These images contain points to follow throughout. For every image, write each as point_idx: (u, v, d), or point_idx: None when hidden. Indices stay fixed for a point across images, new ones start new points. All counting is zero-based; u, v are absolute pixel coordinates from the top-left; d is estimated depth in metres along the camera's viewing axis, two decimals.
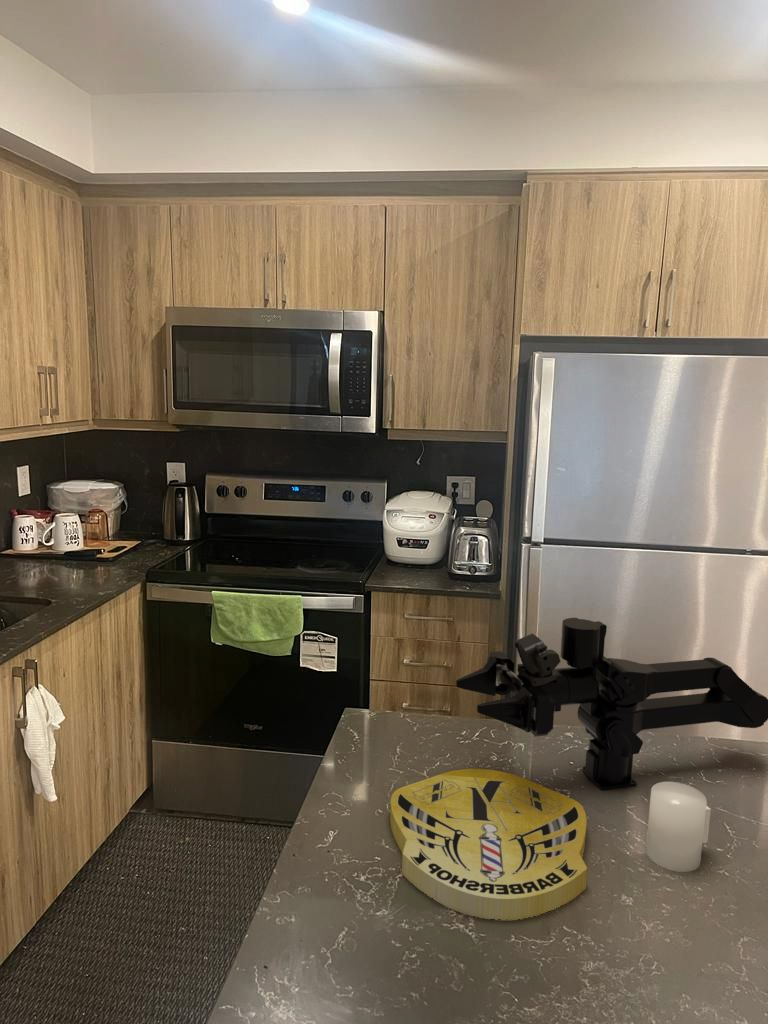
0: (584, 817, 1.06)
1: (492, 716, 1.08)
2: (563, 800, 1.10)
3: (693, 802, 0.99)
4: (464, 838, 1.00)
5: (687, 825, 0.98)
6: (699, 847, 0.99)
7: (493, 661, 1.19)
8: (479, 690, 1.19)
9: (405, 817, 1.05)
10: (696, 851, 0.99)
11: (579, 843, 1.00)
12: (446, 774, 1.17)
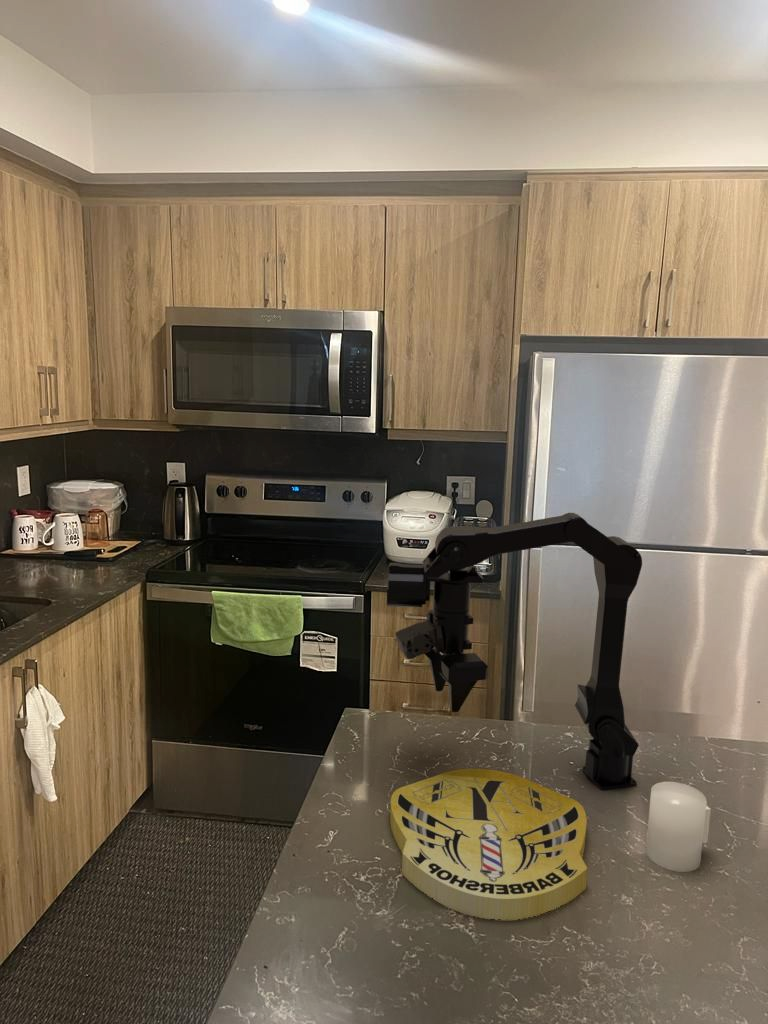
0: (584, 817, 1.06)
1: (463, 700, 1.15)
2: (563, 801, 1.10)
3: (693, 802, 0.99)
4: (464, 838, 1.00)
5: (687, 824, 0.98)
6: (699, 847, 0.99)
7: None
8: None
9: (405, 817, 1.05)
10: (696, 851, 0.99)
11: (579, 843, 1.00)
12: (446, 774, 1.17)
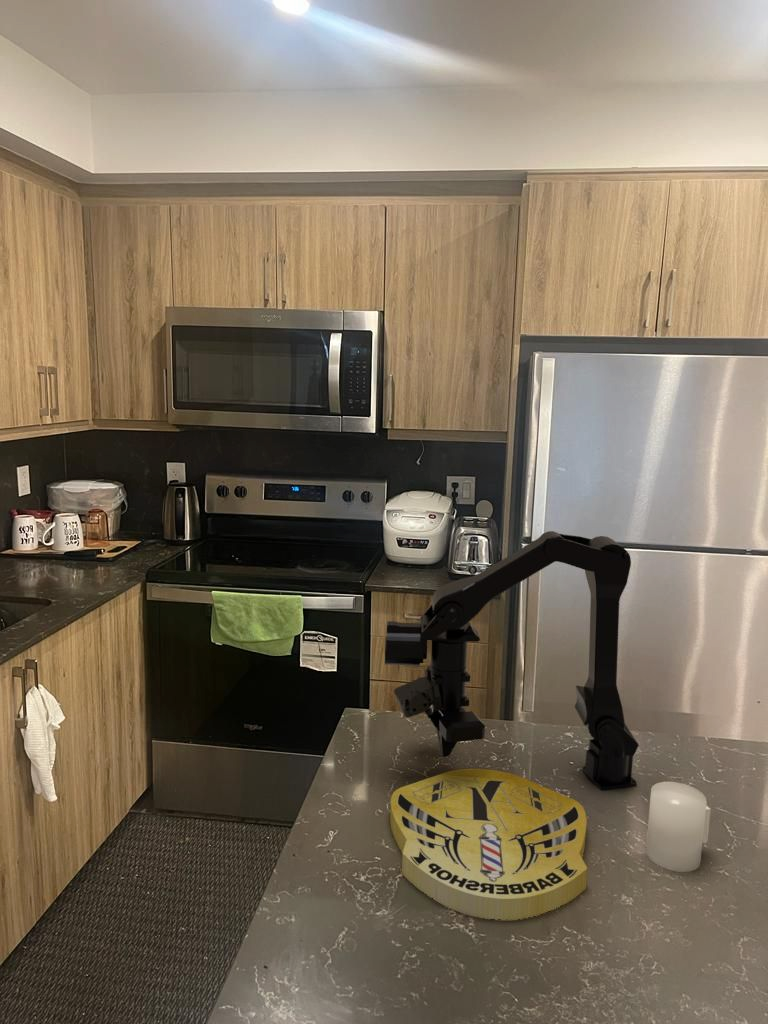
0: (584, 817, 1.06)
1: (453, 746, 1.21)
2: (563, 801, 1.10)
3: (692, 802, 0.99)
4: (464, 838, 1.00)
5: (687, 825, 0.98)
6: (699, 847, 0.99)
7: (428, 716, 1.21)
8: None
9: (405, 817, 1.05)
10: (696, 851, 0.99)
11: (579, 843, 1.00)
12: (446, 774, 1.17)
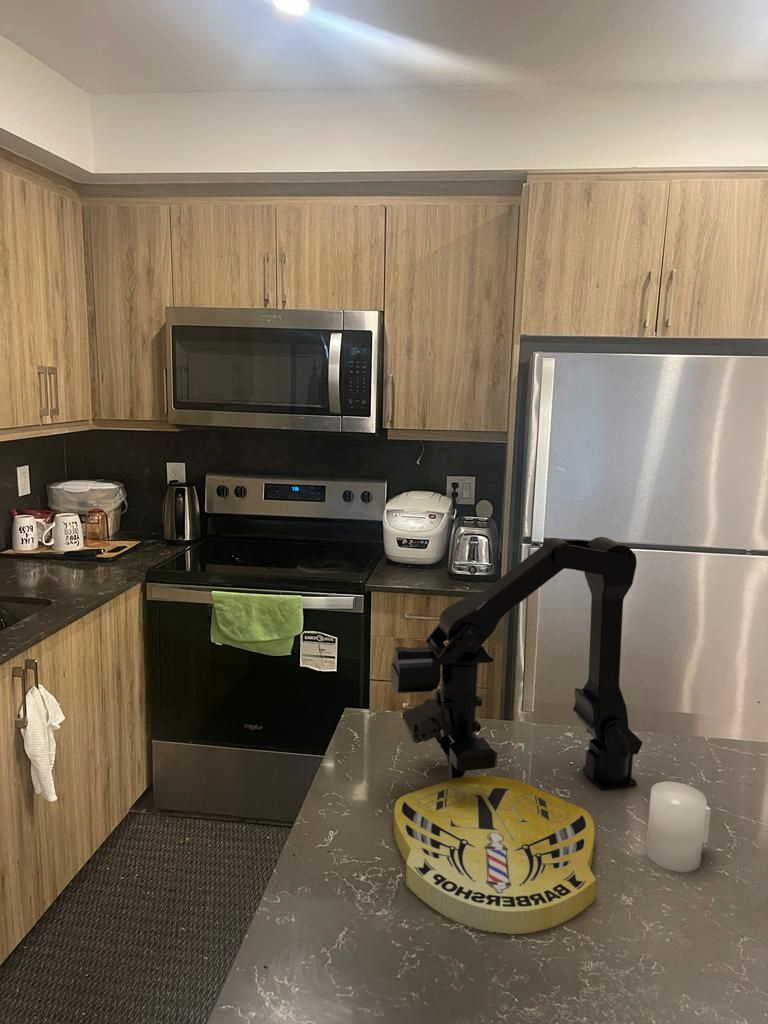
0: (592, 826, 1.04)
1: (463, 772, 1.16)
2: (570, 809, 1.08)
3: (693, 802, 0.99)
4: (469, 848, 0.98)
5: (687, 824, 0.98)
6: (699, 847, 0.99)
7: (437, 741, 1.16)
8: None
9: (409, 826, 1.03)
10: (696, 851, 0.99)
11: (587, 853, 0.98)
12: (451, 781, 1.15)
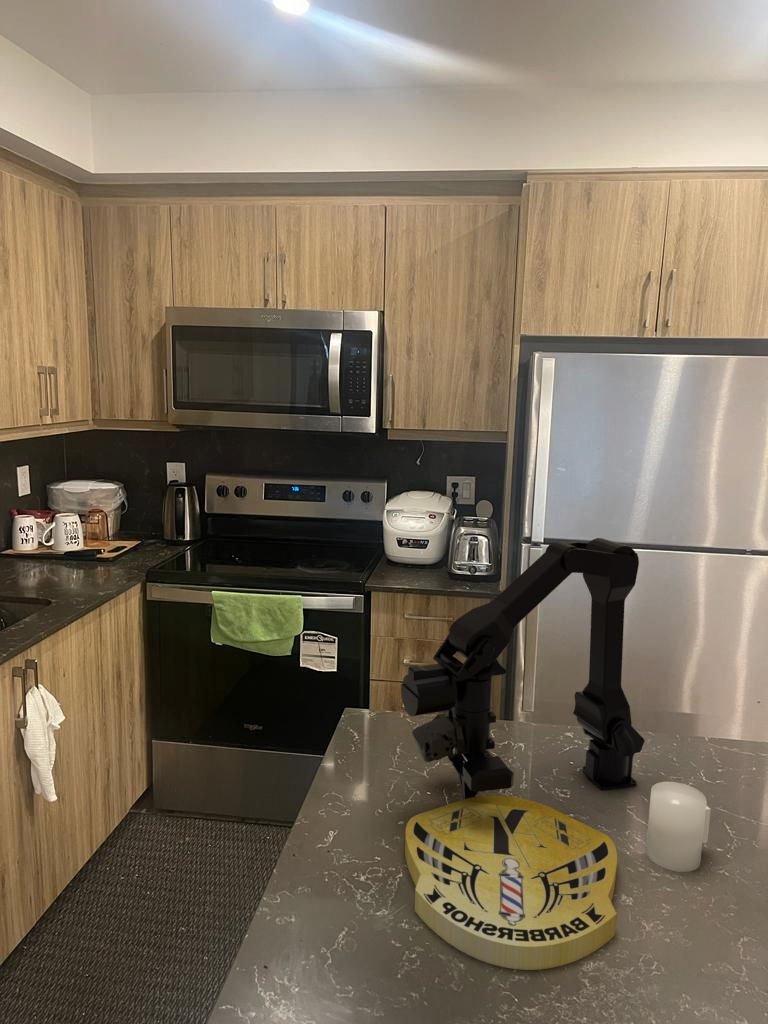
0: (614, 854, 0.98)
1: (477, 791, 1.11)
2: (592, 834, 1.02)
3: (692, 802, 0.99)
4: (483, 874, 0.93)
5: (687, 825, 0.98)
6: (699, 847, 0.99)
7: (449, 759, 1.11)
8: None
9: (420, 848, 0.98)
10: (696, 851, 0.99)
11: (609, 883, 0.92)
12: (466, 800, 1.09)
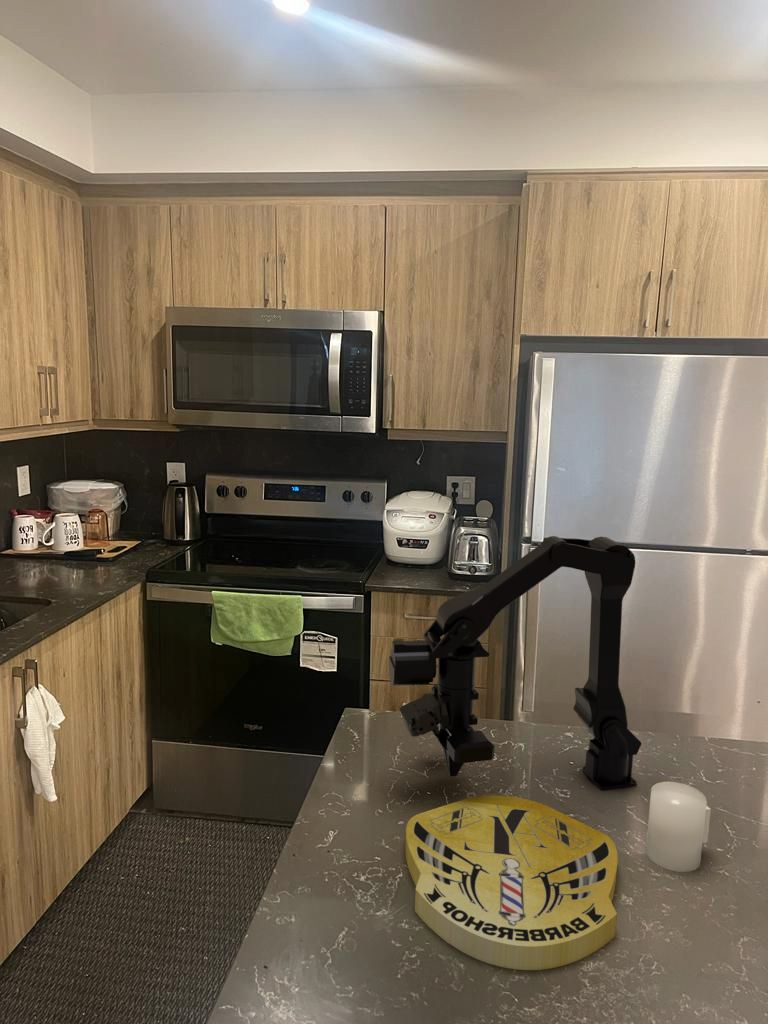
0: (615, 854, 0.98)
1: (461, 765, 1.17)
2: (592, 835, 1.02)
3: (693, 802, 0.99)
4: (483, 874, 0.93)
5: (687, 825, 0.98)
6: (699, 847, 0.99)
7: None
8: None
9: (420, 848, 0.98)
10: (696, 851, 0.99)
11: (609, 884, 0.92)
12: (467, 800, 1.09)
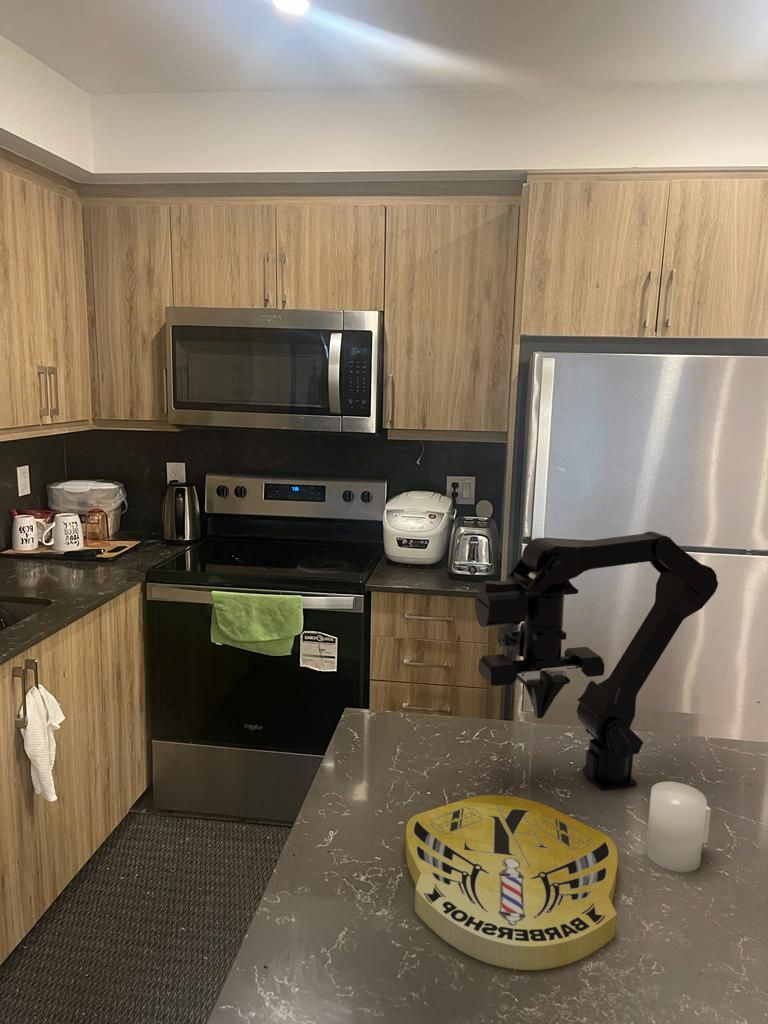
0: (615, 854, 0.98)
1: (536, 708, 1.15)
2: (592, 835, 1.02)
3: (693, 802, 0.99)
4: (483, 874, 0.93)
5: (687, 825, 0.98)
6: (699, 847, 0.99)
7: None
8: (546, 697, 1.15)
9: (420, 848, 0.98)
10: (696, 851, 0.99)
11: (609, 884, 0.92)
12: (467, 800, 1.09)
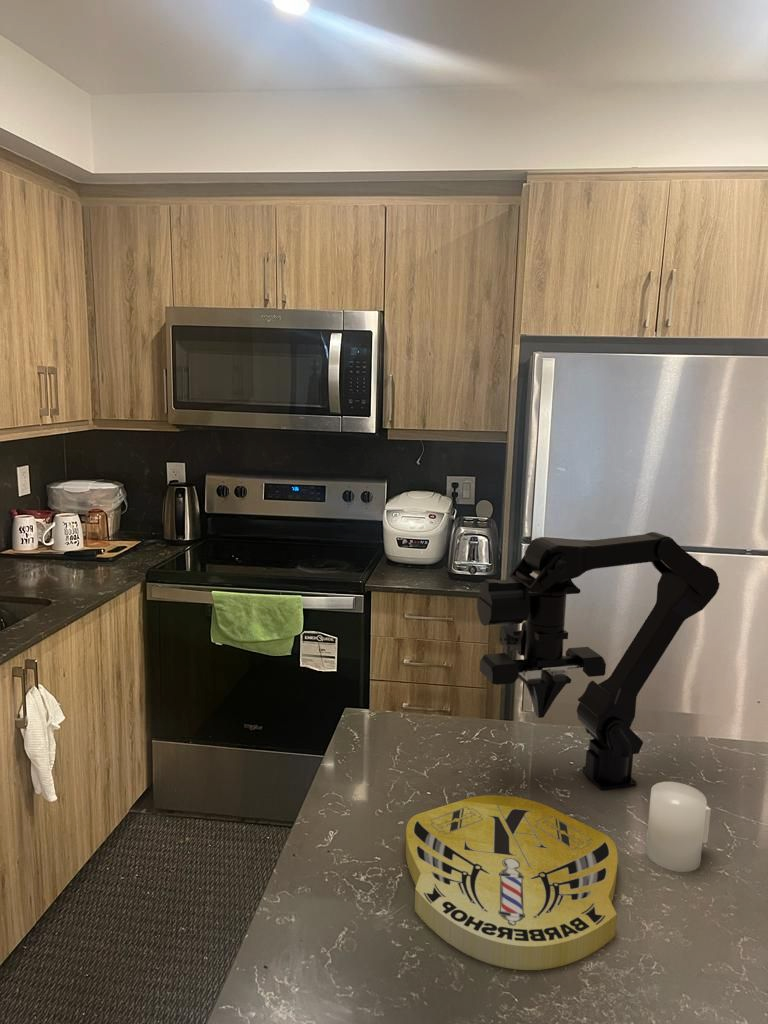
0: (615, 855, 0.98)
1: (537, 707, 1.15)
2: (592, 835, 1.02)
3: (693, 802, 0.99)
4: (483, 874, 0.93)
5: (687, 825, 0.98)
6: (699, 847, 0.99)
7: None
8: (547, 696, 1.15)
9: (420, 848, 0.98)
10: (696, 851, 0.99)
11: (609, 884, 0.92)
12: (467, 800, 1.09)
